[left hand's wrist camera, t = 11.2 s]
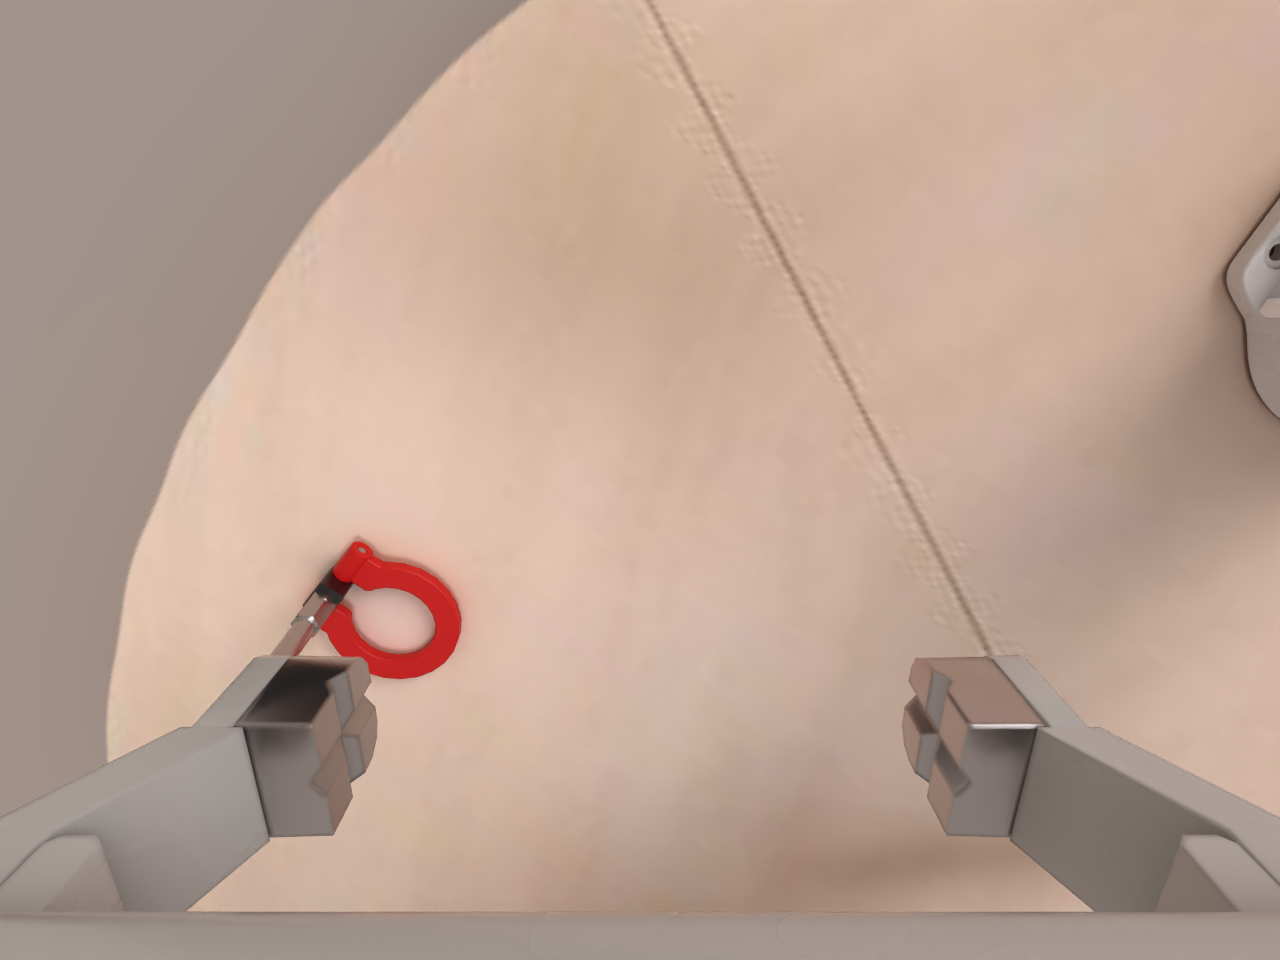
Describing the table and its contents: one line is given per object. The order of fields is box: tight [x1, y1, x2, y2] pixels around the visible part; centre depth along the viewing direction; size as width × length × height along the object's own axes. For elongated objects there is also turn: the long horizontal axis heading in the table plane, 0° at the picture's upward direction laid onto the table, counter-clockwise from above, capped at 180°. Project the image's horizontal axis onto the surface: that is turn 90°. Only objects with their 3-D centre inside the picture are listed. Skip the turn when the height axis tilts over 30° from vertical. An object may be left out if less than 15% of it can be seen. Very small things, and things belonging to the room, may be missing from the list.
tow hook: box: [270, 542, 461, 679], centre depth 39 cm, size 8×13×9 cm
